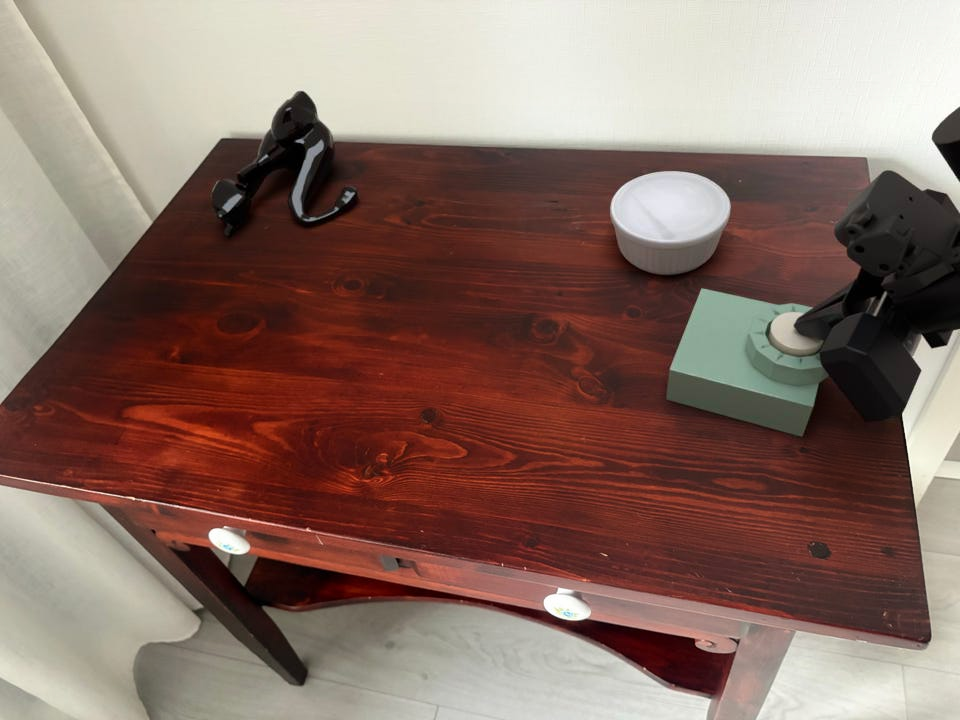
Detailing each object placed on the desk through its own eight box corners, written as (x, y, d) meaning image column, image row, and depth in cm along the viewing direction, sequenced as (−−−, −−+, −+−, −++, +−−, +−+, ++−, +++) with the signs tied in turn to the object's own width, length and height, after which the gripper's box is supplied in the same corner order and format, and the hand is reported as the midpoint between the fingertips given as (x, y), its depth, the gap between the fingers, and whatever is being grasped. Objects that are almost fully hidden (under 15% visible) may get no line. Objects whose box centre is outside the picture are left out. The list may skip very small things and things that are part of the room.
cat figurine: (391, 185, 93) (301, 292, 87) (301, 135, 95) (208, 235, 89) (386, 131, 84) (285, 246, 78) (287, 77, 86) (181, 183, 80)
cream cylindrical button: (822, 340, 61) (829, 318, 59) (813, 376, 59) (820, 354, 57) (770, 328, 62) (776, 306, 60) (760, 363, 60) (765, 341, 58)
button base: (835, 351, 65) (853, 302, 60) (815, 441, 59) (833, 393, 55) (696, 319, 69) (703, 270, 65) (665, 399, 64) (671, 352, 59)
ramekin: (589, 261, 76) (589, 220, 72) (641, 200, 81) (643, 159, 78) (693, 298, 71) (699, 256, 67) (741, 230, 76) (749, 187, 73)
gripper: (990, 84, 48) (784, 181, 61) (903, 256, 39) (683, 326, 52) (1074, 218, 50) (858, 283, 64) (1010, 410, 41) (774, 440, 54)
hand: (797, 327), depth 58 cm, fingers closed, pressing on cream cylindrical button
